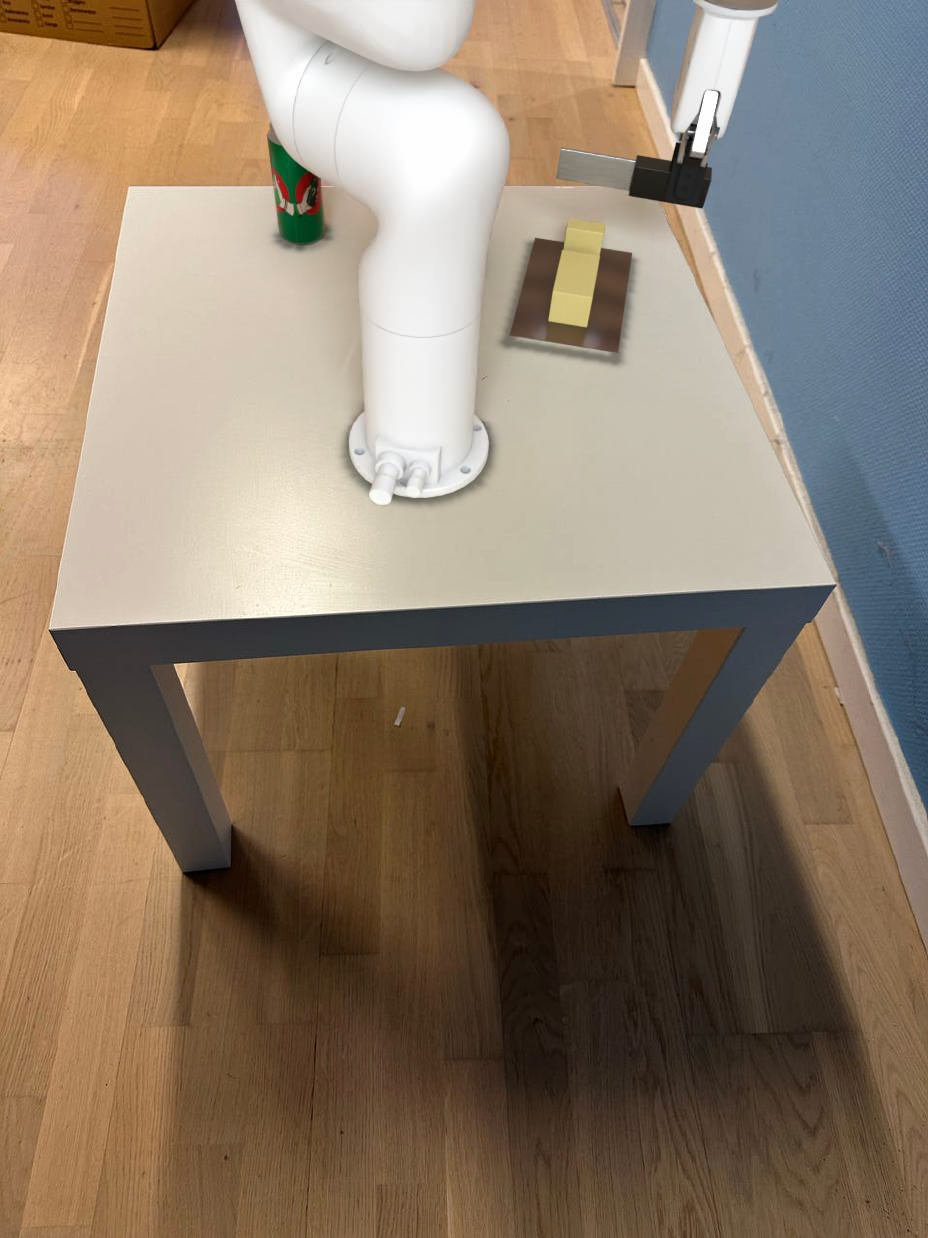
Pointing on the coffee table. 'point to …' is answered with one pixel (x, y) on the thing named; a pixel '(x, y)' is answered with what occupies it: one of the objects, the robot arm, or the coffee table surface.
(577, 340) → the board
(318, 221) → the soda can
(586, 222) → the butter pat
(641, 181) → the knife
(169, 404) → the coffee table surface
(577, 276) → the butter block
